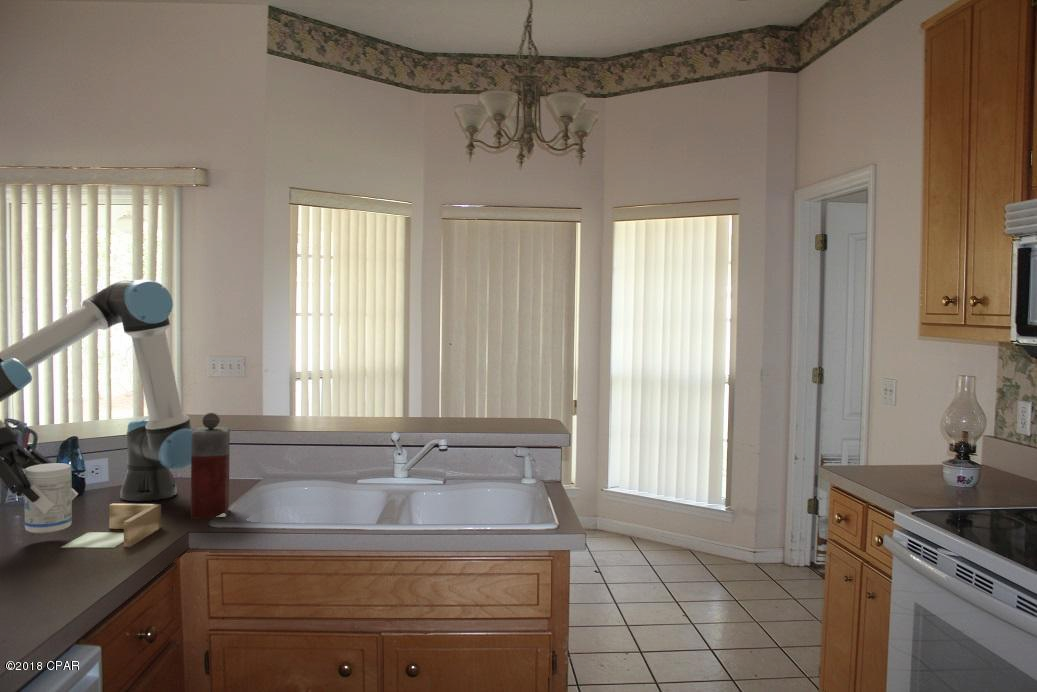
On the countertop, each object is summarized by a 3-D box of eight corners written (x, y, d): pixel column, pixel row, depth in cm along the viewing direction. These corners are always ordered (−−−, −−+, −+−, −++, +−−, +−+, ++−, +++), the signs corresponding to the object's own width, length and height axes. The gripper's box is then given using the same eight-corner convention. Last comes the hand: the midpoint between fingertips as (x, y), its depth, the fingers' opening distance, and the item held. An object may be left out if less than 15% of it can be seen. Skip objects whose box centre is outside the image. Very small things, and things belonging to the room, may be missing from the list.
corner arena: (61, 547, 175) (61, 522, 175) (100, 526, 193) (100, 503, 192) (128, 548, 176) (128, 522, 175) (161, 527, 193) (161, 504, 193)
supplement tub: (21, 527, 179) (19, 466, 179) (66, 520, 186) (65, 461, 185) (29, 536, 172) (28, 472, 172) (76, 528, 179) (75, 467, 178)
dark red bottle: (229, 507, 215) (230, 409, 214) (226, 517, 204) (227, 414, 203) (195, 508, 212) (196, 409, 211) (190, 519, 202) (191, 414, 201)
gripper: (10, 439, 188) (75, 502, 190) (-54, 457, 166) (21, 528, 168) (31, 418, 188) (97, 481, 190) (-29, 433, 166) (46, 504, 168)
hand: (61, 503), depth 179 cm, fingers closed on supplement tub, 9 cm apart
